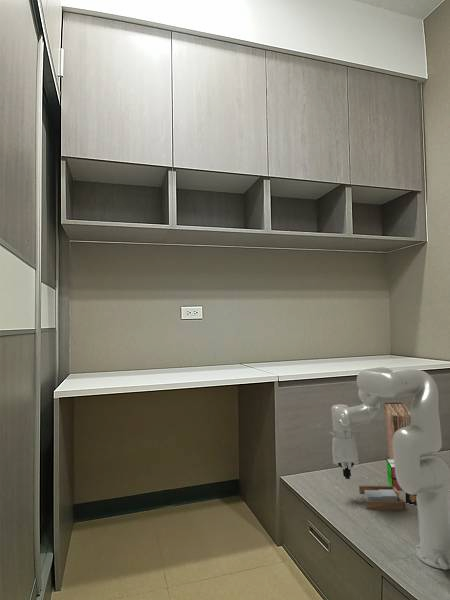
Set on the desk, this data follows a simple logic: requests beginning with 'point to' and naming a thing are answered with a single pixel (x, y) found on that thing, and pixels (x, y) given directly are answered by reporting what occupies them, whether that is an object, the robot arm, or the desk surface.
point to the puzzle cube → (392, 474)
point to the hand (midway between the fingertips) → (347, 477)
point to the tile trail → (373, 495)
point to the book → (395, 421)
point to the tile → (389, 495)
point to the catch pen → (383, 504)
